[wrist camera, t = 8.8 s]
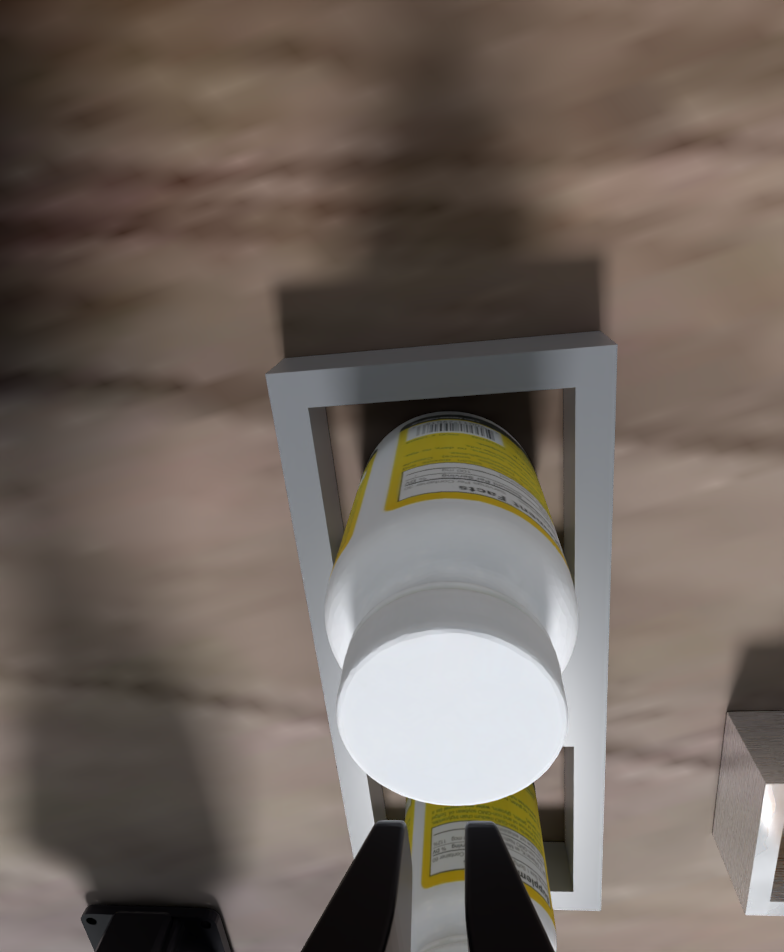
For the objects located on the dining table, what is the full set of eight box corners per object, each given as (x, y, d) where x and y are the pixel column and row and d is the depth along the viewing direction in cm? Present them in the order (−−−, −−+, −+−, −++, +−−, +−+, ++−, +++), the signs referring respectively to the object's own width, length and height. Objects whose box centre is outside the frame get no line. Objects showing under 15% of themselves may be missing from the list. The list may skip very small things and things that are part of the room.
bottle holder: (590, 860, 25) (600, 910, 23) (368, 856, 26) (362, 904, 25) (600, 330, 17) (616, 344, 16) (284, 358, 19) (265, 374, 17)
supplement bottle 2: (473, 837, 25) (480, 1110, 18) (383, 774, 25) (350, 1032, 17) (560, 776, 24) (611, 1047, 16) (467, 706, 23) (473, 957, 15)
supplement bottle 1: (434, 593, 21) (420, 874, 12) (328, 475, 20) (224, 692, 11) (573, 505, 20) (674, 756, 11) (467, 369, 18) (480, 524, 9)
